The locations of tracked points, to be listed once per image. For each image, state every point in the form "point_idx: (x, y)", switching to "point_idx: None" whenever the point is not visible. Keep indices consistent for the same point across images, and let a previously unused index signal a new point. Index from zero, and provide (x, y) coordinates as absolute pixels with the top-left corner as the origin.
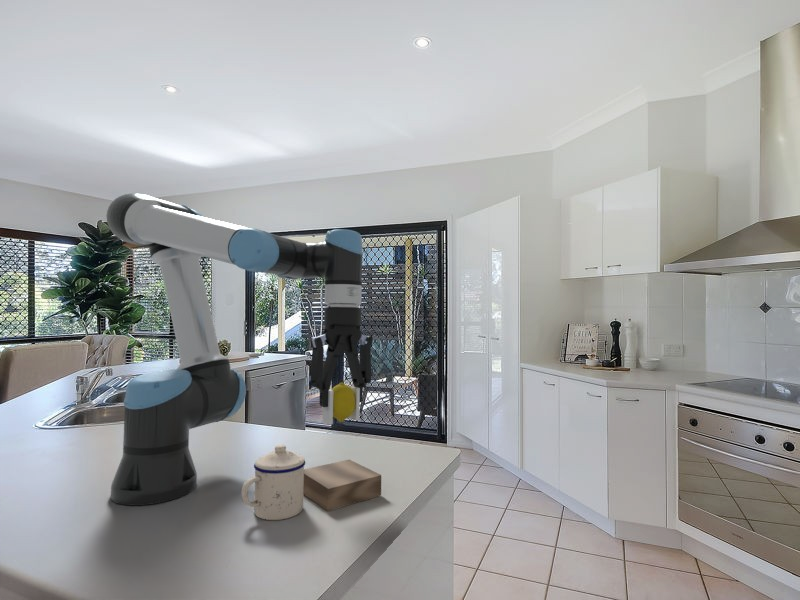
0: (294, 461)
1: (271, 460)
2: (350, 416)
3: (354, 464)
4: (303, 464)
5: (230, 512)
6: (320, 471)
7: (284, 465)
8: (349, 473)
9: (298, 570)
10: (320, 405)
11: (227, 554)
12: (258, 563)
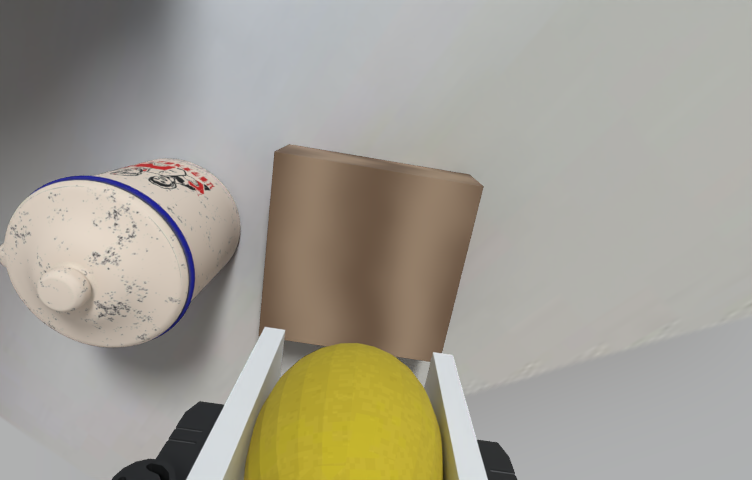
0: (119, 336)
1: (38, 297)
2: (431, 369)
3: (454, 241)
4: (163, 332)
5: (69, 138)
6: (324, 213)
7: (78, 338)
8: (381, 291)
9: (108, 433)
10: (194, 410)
11: (15, 315)
12: (57, 376)
